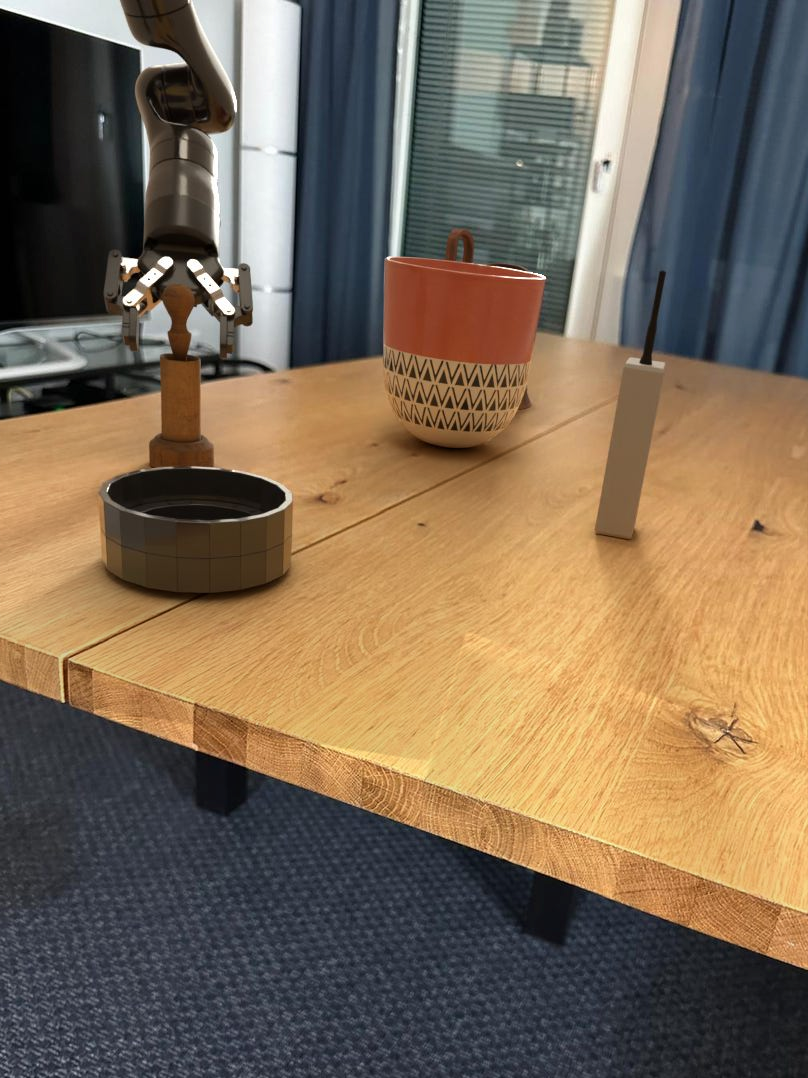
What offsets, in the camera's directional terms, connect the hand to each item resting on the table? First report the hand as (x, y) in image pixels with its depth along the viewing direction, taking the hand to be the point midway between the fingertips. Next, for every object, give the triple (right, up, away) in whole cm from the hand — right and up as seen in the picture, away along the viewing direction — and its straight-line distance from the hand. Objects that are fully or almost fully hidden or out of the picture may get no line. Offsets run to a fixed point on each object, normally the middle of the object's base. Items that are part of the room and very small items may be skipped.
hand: (179, 350), depth 92 cm
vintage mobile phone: (+44, -18, +3) cm, 47 cm away
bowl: (+8, -23, -18) cm, 30 cm away
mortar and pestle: (-2, -11, +6) cm, 12 cm away
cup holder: (+28, +10, +57) cm, 65 cm away
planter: (+26, -3, +28) cm, 38 cm away
